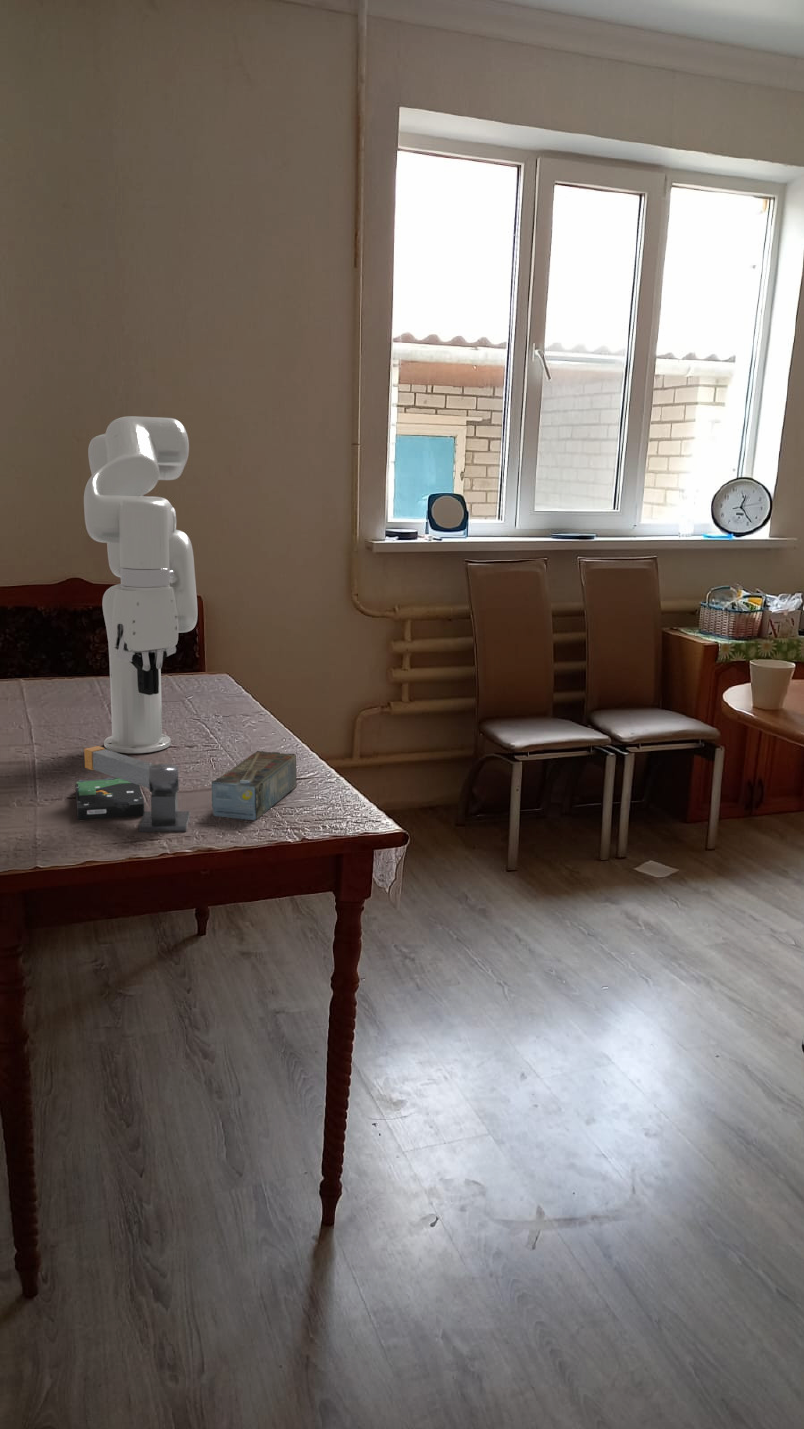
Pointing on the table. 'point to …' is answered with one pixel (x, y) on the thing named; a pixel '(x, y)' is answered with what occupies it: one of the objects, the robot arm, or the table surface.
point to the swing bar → (133, 770)
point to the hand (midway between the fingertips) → (148, 693)
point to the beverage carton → (254, 785)
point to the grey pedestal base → (164, 815)
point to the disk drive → (108, 799)
